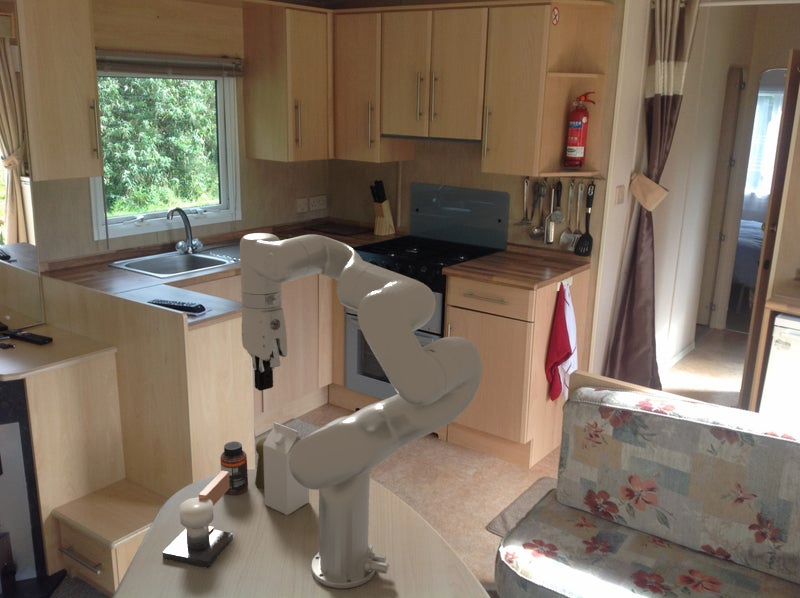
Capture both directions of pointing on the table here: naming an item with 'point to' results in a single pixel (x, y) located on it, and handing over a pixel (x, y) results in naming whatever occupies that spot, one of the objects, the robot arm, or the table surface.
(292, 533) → the table surface
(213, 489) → the orange bar with ball
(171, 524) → the table surface
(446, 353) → the robot arm
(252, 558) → the table surface
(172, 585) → the table surface
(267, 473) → the milk carton
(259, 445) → the olive pear
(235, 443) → the supplement bottle
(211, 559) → the coupling base
